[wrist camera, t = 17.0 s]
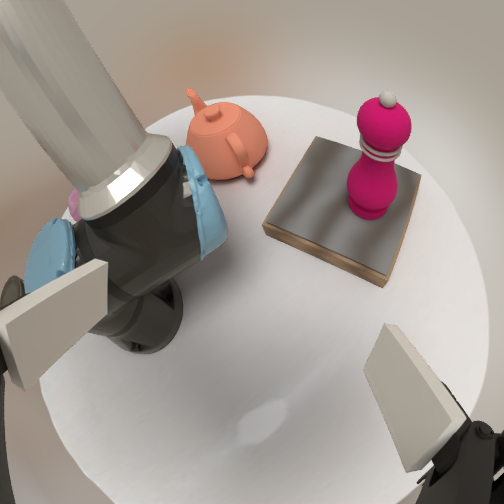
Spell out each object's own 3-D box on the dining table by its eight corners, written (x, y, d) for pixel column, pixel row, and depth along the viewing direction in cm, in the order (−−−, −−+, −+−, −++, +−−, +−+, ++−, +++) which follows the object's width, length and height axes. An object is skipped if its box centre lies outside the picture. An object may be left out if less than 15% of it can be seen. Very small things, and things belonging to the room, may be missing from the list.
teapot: (178, 145, 58) (154, 106, 47) (236, 111, 59) (221, 69, 47) (219, 209, 49) (191, 165, 37) (292, 164, 49) (282, 113, 38)
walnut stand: (266, 234, 45) (261, 222, 41) (316, 148, 49) (315, 134, 46) (382, 287, 37) (388, 280, 34) (416, 186, 42) (422, 173, 38)
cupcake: (85, 220, 57) (57, 199, 48) (109, 193, 58) (83, 169, 49) (97, 241, 53) (66, 220, 44) (123, 212, 54) (95, 187, 45)
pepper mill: (335, 194, 40) (337, 82, 22) (372, 176, 40) (389, 69, 22) (362, 231, 37) (386, 124, 19) (399, 211, 37) (438, 106, 19)
